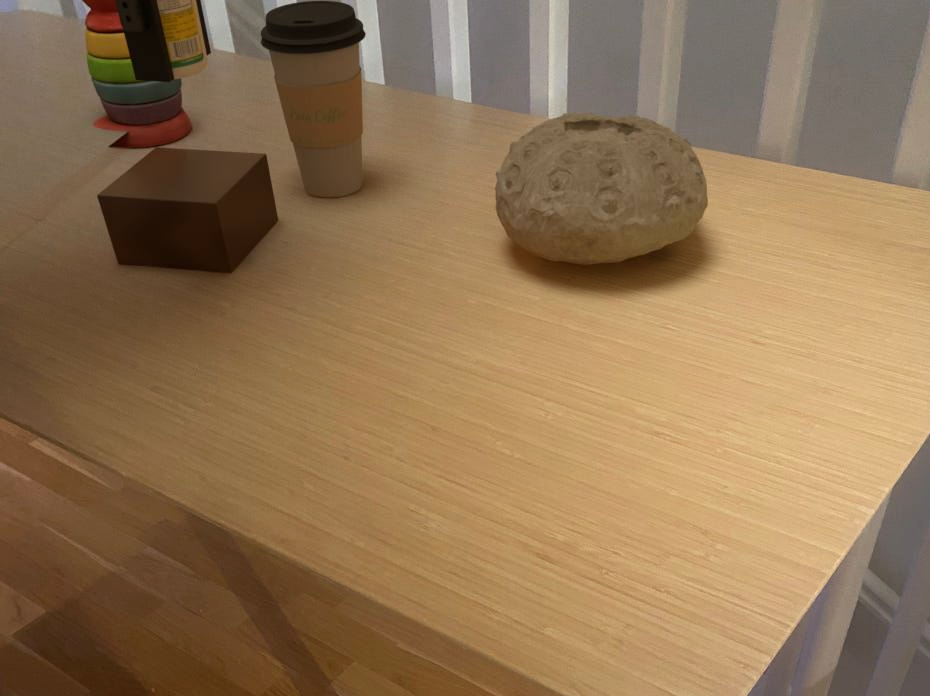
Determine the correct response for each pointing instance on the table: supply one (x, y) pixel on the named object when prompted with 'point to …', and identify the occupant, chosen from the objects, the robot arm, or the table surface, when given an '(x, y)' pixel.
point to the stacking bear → (129, 86)
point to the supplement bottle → (183, 36)
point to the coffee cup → (320, 90)
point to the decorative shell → (599, 188)
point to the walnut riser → (190, 209)
